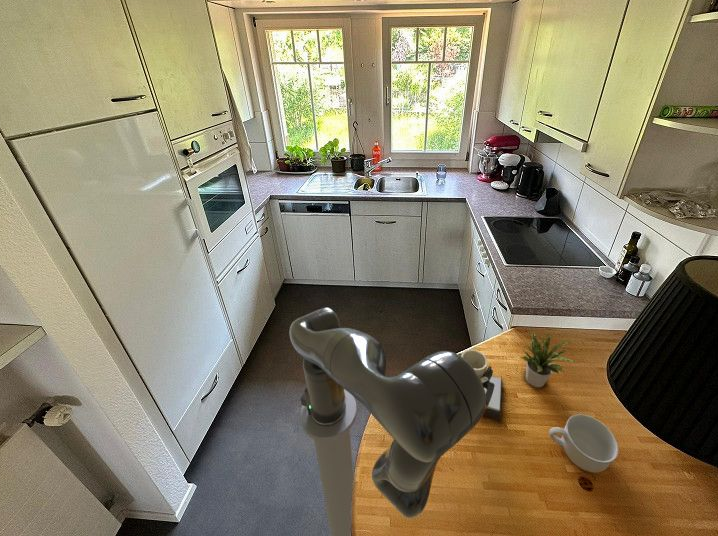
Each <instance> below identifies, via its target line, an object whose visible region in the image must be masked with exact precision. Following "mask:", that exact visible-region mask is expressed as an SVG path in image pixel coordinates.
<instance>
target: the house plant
mask: <svg viewBox="0 0 718 536" xmlns="http://www.w3.org/2000/svg"><path fill="white" fill-rule="evenodd" d="M529 332H530V335H531V338H532V340H531V342H529V345H530V346H531V347H530V346H528V345H527V344H525V343H521V345H522V346H524V347H525V348H527V349H528V350H529V351H530V352H531V354H532V355H533V356H531V354H529V353H528V352H527V351H526V350H525V349H522V352H524V354H525V356H521V357H519V358H520V359H523V361H526V367H525V368H526V369H525V380H526V382H527V383H528V384H529V385H530V386H532V387H534V388H542V387H544V385H545V384H546V383H547V381H548V380H549V378H550V377H551V375H553V374H552V373H556V374H558V375H560V373H559V371H560V372H561V373H563V367H562V366H561V364H558V363H553V362H556V361H560V360H561V361H568V362H570V363H573V364H576V362H575V361H574V360H572V359H571V358H568V357H564V356H561V355H564V354H565V353H566V352H570V350H569V349H564V350H561V351H558V352H557V350H559V349H560V348H562V347H564V346H566V345H567V344H569V343H571V341H563V342H560V343H558V344H556V345H555V346H553V347H552V348H551V350H549V348H550V344H551V335H550V331H549V329H547V330H546V335H545V337H546V338H545V340H544V338H543V336H542V334H541V333H539V336H540V338H541V339H540V338H539V339H537V335H536V333H534V332H532V331H531V330H529ZM541 342H542V343H541ZM548 351H549V352H548Z"/></svg>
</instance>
